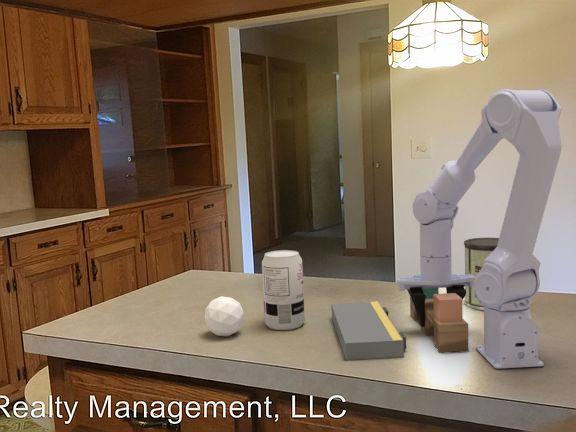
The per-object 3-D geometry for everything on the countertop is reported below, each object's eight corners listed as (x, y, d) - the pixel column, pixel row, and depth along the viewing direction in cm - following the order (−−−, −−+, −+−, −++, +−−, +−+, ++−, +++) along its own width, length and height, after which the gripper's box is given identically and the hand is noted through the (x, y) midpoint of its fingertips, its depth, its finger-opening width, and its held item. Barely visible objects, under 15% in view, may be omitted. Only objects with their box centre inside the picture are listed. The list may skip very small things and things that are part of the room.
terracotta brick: (462, 321, 103) (462, 299, 103) (439, 322, 103) (439, 300, 103) (455, 314, 107) (455, 293, 107) (433, 315, 107) (433, 294, 107)
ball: (215, 349, 117) (189, 318, 117) (239, 324, 123) (214, 295, 122) (235, 338, 112) (207, 306, 111) (258, 313, 117) (232, 282, 117)
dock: (409, 356, 101) (409, 339, 101) (345, 360, 101) (345, 342, 101) (383, 315, 125) (383, 301, 125) (331, 317, 125) (331, 303, 124)
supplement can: (259, 322, 124) (255, 252, 122) (295, 316, 127) (292, 248, 125) (273, 333, 116) (270, 259, 114) (311, 326, 120) (308, 254, 118)
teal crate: (438, 298, 118) (438, 278, 118) (418, 299, 118) (418, 279, 118) (433, 293, 122) (433, 274, 122) (414, 294, 122) (413, 275, 122)
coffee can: (509, 298, 133) (509, 236, 132) (517, 311, 123) (518, 245, 122) (462, 297, 136) (461, 237, 134) (466, 310, 126) (466, 245, 124)
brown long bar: (468, 351, 102) (468, 323, 102) (439, 353, 102) (439, 325, 102) (433, 314, 124) (433, 291, 124) (410, 315, 124) (410, 292, 124)
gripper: (466, 249, 115) (467, 316, 117) (393, 252, 115) (394, 320, 117) (479, 256, 108) (479, 327, 110) (400, 260, 108) (402, 331, 110)
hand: (436, 324), depth 113 cm, fingers closed on brown long bar, 5 cm apart
